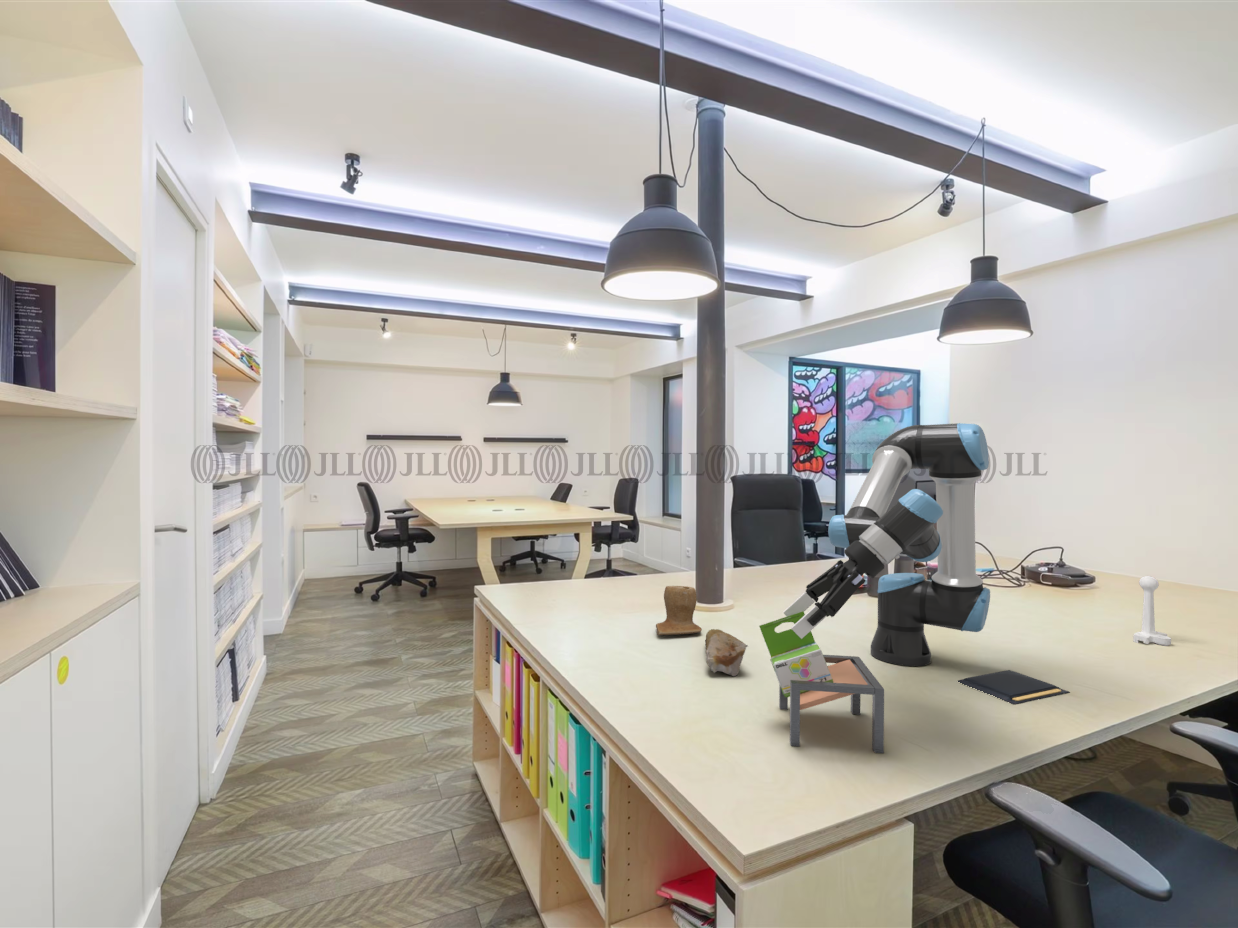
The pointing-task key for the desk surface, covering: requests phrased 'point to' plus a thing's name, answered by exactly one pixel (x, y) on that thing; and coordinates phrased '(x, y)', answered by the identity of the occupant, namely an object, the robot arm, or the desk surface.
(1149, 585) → the joystick
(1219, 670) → the desk surface
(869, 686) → the stand
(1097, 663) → the desk surface
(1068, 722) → the desk surface
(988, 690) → the wallet
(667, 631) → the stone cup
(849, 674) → the trapdoor
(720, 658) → the mineral
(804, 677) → the ink box
